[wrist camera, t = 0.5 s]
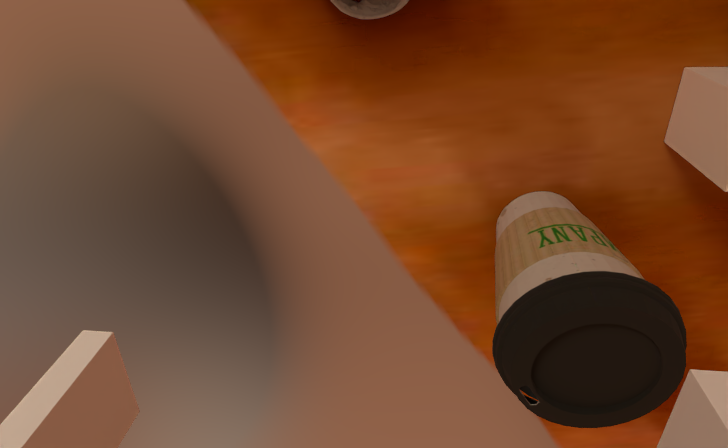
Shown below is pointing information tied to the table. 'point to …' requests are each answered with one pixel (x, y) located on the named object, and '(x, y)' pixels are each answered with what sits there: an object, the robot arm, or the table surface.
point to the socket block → (702, 122)
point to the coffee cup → (579, 319)
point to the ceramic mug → (369, 7)
